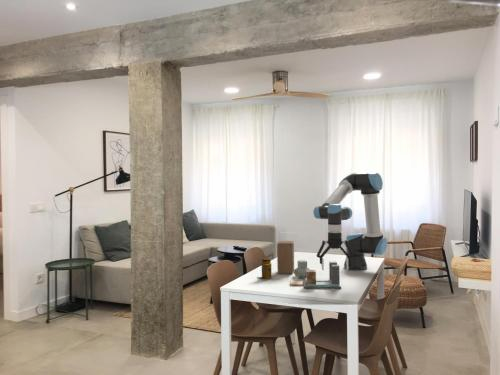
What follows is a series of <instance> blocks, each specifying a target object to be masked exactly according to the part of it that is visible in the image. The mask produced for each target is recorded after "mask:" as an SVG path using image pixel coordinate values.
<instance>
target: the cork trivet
mask: <svg viewBox="0 0 500 375" xmlns="http://www.w3.org/2000/svg"><path fill="white" fill-rule="evenodd" d="M290 286H291V287H304V284H303V280H299V281H298V280H290Z"/></svg>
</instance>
